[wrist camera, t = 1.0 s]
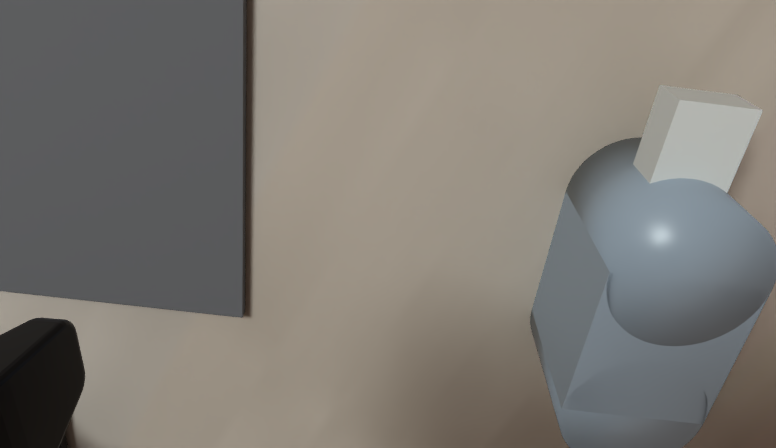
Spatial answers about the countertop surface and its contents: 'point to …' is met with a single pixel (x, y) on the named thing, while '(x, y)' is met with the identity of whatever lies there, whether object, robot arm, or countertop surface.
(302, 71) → the countertop surface
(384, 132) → the countertop surface
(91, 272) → the mat
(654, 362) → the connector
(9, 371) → the robot arm
